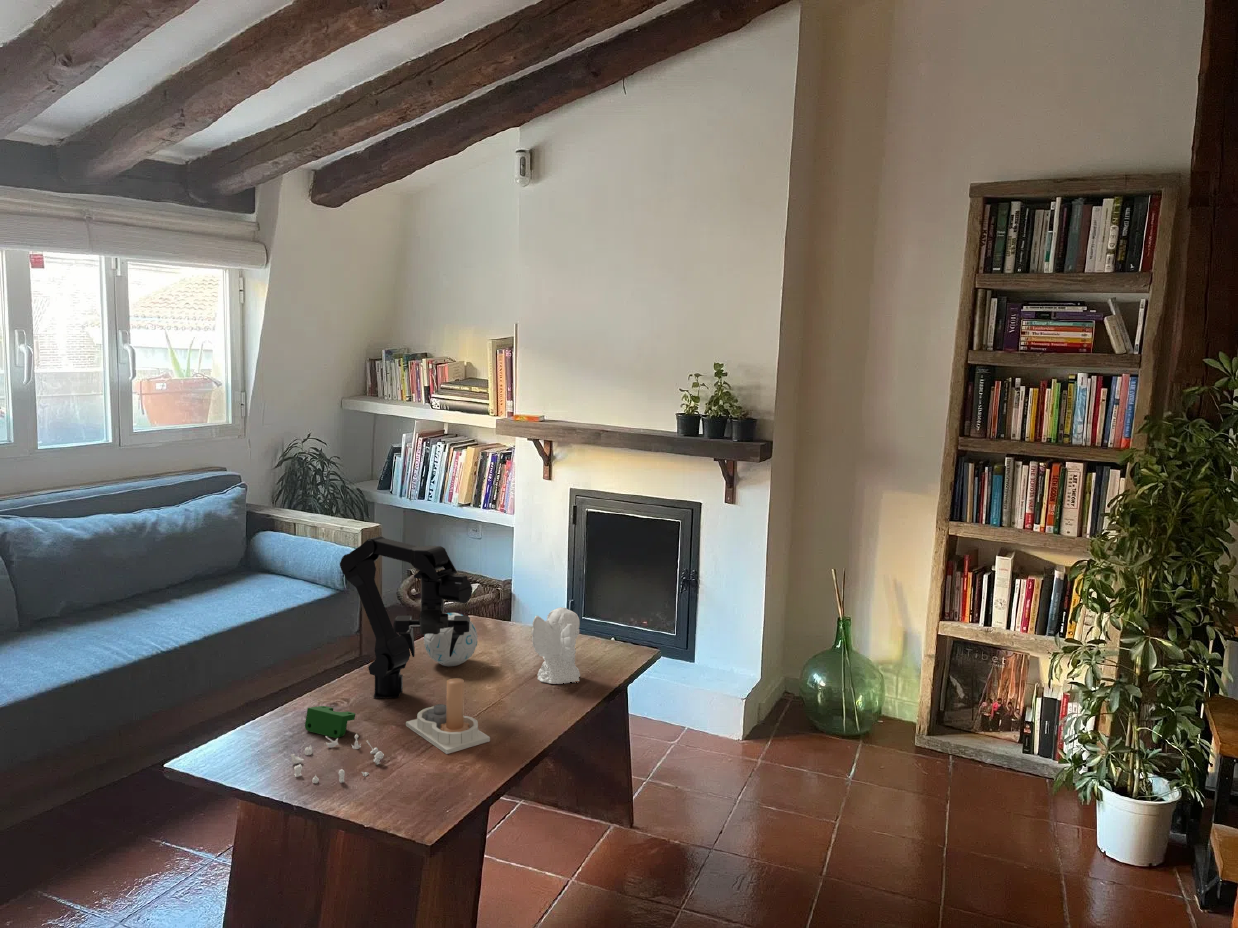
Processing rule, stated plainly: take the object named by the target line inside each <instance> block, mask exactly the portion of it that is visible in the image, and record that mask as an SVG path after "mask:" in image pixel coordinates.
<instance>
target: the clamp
mask: <svg viewBox="0 0 1238 928" xmlns="http://www.w3.org/2000/svg"><path fill="white" fill-rule="evenodd" d="M306 710H307V711H306V716H305V722H304V728H305V730H306V731H307V732H310V733H314V734H318V735H322V736H327V737H329V738H334V739H337V738H338V739H339V738H343V737H344V736H345V735H346V732H347V731H346V730H347V728H348V722H349V721H355V719H356V712H351V711H334V707H330V706H326V705H318V706H312V707H311V706H310V707H307V709H306Z"/></svg>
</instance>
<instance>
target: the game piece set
mask: <svg viewBox="0 0 1238 928" xmlns="http://www.w3.org/2000/svg"><path fill="white" fill-rule="evenodd" d="M324 736H325V738H326V739H327V740H329V742H325V745H326V746H327V747H328V748H332V749H333V748H335V747H336V746H340V744H339V742H338V740H339V737H338V738H335V740H333V739H331V738H330V737H329V736H326V735H324ZM358 738H359V735H358V733H356V734H355V735H354V739H355V741H354V745H353V744H352V743H350V745H351V746H352V747H351V748H352V749H353V750H358V749H361V748H362V746H361V744H362V743H359V741H358ZM366 743H367V744H368V746H370V748H371V751H370V752H369V753H370V755H373V756H374V758H373V763H375V765H376V766H377V765H380V761H381V760H382V759H383V758H384V755H385V754H384V753H383V752H382V751H381V750H379V748H378V747H374V748H373V746H372V745H371V743H370V741H369V740H366ZM313 753H314V752H313V748H312V745H311V744H309V746H307V747H305V749H304V755H305V756H310V755H312V754H313ZM289 757H291V762H292V764H293V763H294V765H295V766H294V767H293V769H294V774H293V776H294V775H295V776H294V777H295V778H298V777H302V776H303V775H302V773H301V771H302V769H303V766H302V764H301V763H302V762H304V761H305V759H304V758H302V757H299V756H296V754H295V753H292V754H290V755H289ZM296 764H298V765H296ZM345 773H346V772H345V770H344V769H342V768H341V769H339V770H338V775H339V777H338V780H339V781H338V782H339V783H340V784H342V783H345ZM361 774H362V776H363V777H367V776H368V775H369V774H370V773H369V772H367V771H365V772H364V771H361ZM311 781H312V784H318V783H319V782H320V781H319V777H318V776H317V774H315V775H314V777H312V779H311Z"/></svg>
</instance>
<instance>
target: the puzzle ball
mask: <svg viewBox="0 0 1238 928" xmlns="http://www.w3.org/2000/svg"><path fill="white" fill-rule="evenodd" d="M444 614H448V620H454V617H455V616H464V615H463V614H462V613H458V612H444ZM452 632H453V627H448V628H444V629H440V633H439V634H423V635H424V636H423V645H424V648H425V650H426V653H427V655H428V656H429V658H430V659H432V660H433V661H435V662H437V664H440V665H442V666H443V667H456V666H459V665H461V664H463V663H465V662H467V660H469V659H470V658H471V657H472V656H473V654H474V652H475V650H476V648H477V646H478V632H477V628H476V626H475V624H474V623H473V622H472V621H471V620H470V629H469V632H464V635H460V636H459V638H458V639H457V641H456V644H455V647H454V650H453V653H452V656H451V657H449V652H450V645H451V639H452Z"/></svg>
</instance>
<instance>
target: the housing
mask: <svg viewBox="0 0 1238 928" xmlns="http://www.w3.org/2000/svg"><path fill="white" fill-rule="evenodd" d="M416 716H417V717H416V718H415V719H411V720H408V721H406V722H405V727H407V728H409V729H410V730H411V731H412V732H414V733H415V734H417V735H419V736H420V737H421V738H422V739H424V740H425V741H427V742H429V743H430V744H431V745H433V746H434V747H435V748H437V749H438V750H440V751H441V752H443V753H444V754H446V755H449V754H451V753H455V752H458V751H462V750H465V749H468V748H471V747H472V748H473V747H475V746H478V745H482V744H486V743H488V742H491V736H489V735H488V734H486V733H484V732H483V731H481V730H480V729H479V723H478V722H479V721H478V720H477V719H476V718H475V717H472V716H467V715H464V722H465V723H468V724H469V729H468V730H465V731H461V732H447V731H442V730H440V728H441V724H445V723H446V704H443V703H439V704H435V705H433V706H431V707H430V706H429V707H426V708H423V709H422V710H420V711H419V712H417V715H416Z"/></svg>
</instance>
